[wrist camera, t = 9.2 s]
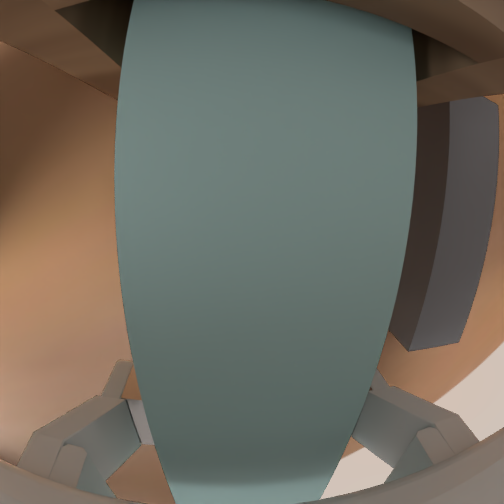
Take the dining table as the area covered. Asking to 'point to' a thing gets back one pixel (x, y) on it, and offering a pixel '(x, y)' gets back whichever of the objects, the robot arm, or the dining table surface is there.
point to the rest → (447, 221)
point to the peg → (260, 232)
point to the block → (379, 3)
